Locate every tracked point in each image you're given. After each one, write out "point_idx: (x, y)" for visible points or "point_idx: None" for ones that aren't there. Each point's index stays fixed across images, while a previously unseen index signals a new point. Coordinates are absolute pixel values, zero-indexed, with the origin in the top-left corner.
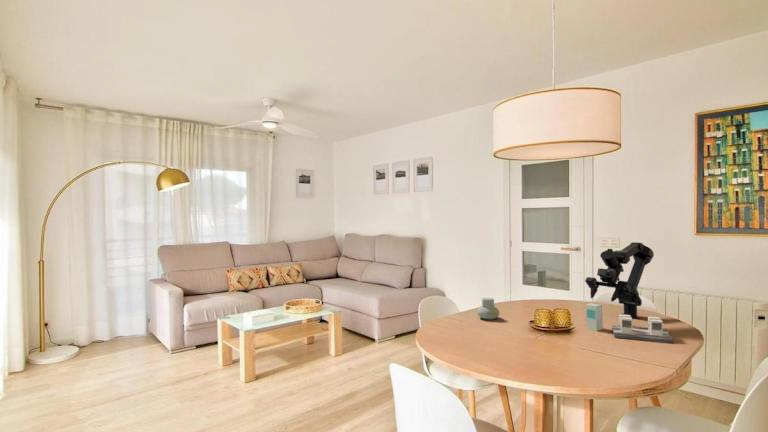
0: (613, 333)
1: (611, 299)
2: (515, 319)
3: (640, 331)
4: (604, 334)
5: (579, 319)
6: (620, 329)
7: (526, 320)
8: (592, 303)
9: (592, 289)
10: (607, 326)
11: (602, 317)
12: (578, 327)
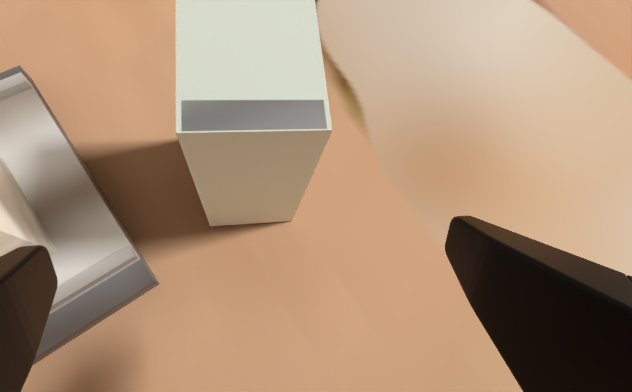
0: (82, 161)
1: (25, 251)
2: (625, 12)
3: None
4: (125, 103)
5: (488, 336)
6: (25, 198)
7: (589, 35)
8: (304, 95)
9: (627, 300)
10: (227, 330)
11: (199, 195)
12: (336, 125)
